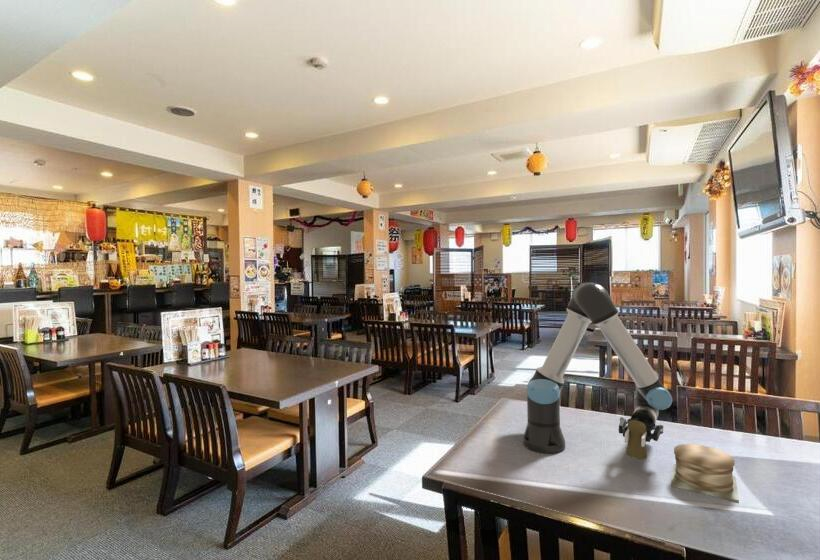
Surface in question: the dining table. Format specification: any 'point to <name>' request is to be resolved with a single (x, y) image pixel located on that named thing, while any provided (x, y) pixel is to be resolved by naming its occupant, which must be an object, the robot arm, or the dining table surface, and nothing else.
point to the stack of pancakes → (704, 471)
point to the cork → (636, 440)
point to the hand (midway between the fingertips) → (634, 440)
